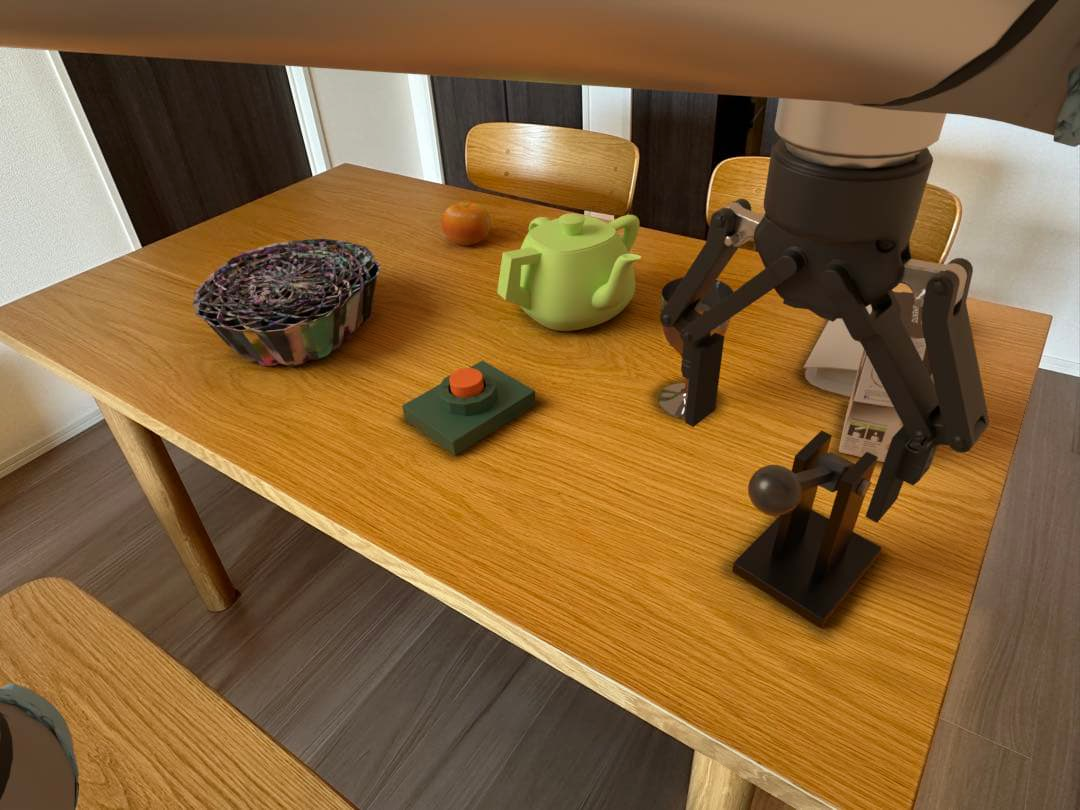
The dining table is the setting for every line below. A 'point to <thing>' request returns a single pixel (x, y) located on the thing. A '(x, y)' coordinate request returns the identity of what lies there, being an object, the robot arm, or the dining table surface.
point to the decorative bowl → (290, 299)
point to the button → (466, 383)
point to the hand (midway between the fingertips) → (782, 458)
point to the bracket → (814, 544)
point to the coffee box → (879, 395)
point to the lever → (794, 483)
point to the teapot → (572, 270)
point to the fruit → (466, 223)
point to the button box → (469, 409)
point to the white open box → (835, 359)
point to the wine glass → (676, 394)
